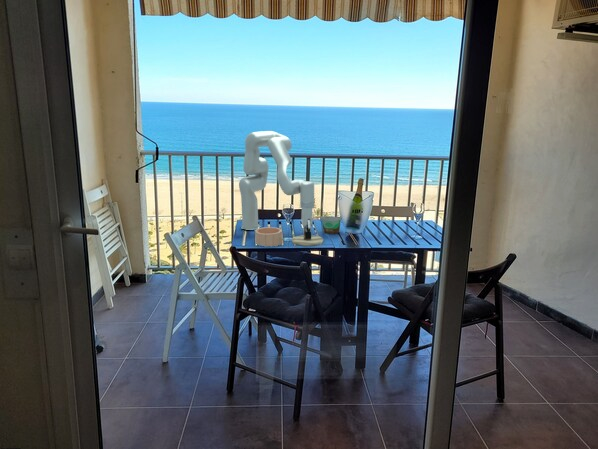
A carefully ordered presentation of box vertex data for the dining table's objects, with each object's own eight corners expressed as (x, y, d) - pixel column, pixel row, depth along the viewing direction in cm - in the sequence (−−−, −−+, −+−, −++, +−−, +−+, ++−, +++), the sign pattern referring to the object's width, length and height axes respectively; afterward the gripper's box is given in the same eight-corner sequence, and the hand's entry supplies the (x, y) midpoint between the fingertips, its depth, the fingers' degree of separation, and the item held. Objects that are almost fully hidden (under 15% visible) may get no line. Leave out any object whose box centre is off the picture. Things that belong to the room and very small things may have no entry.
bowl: (255, 239, 243) (254, 227, 242) (280, 238, 245) (280, 226, 243) (256, 247, 230) (255, 234, 228) (283, 246, 232) (282, 233, 230)
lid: (290, 237, 247) (290, 227, 246) (320, 236, 249) (320, 225, 248) (294, 246, 231) (293, 235, 229) (325, 245, 233) (325, 233, 231)
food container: (319, 234, 254) (319, 217, 251) (320, 231, 259) (320, 214, 257) (341, 234, 252) (341, 217, 249) (341, 232, 258) (342, 215, 255)
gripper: (298, 201, 242) (298, 233, 247) (302, 208, 226) (302, 242, 231) (311, 201, 243) (311, 233, 248) (316, 207, 227) (316, 241, 232)
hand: (307, 237), depth 239 cm, fingers closed on lid, 4 cm apart
